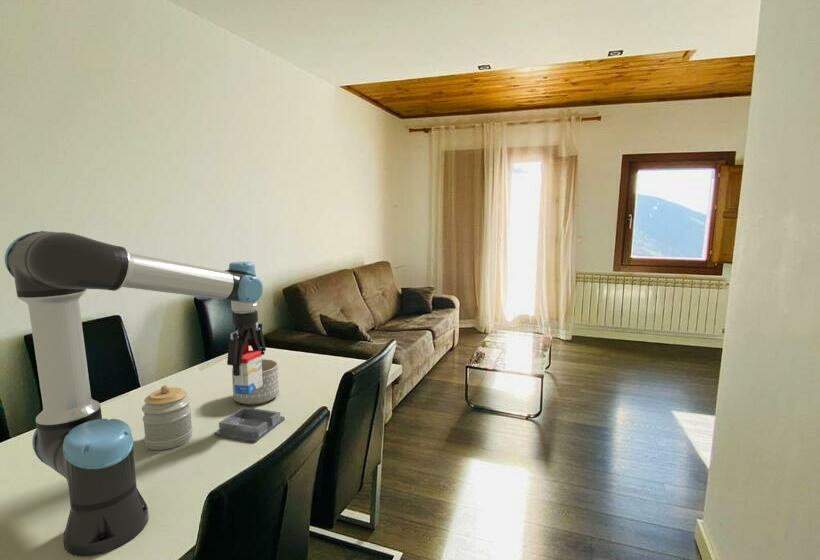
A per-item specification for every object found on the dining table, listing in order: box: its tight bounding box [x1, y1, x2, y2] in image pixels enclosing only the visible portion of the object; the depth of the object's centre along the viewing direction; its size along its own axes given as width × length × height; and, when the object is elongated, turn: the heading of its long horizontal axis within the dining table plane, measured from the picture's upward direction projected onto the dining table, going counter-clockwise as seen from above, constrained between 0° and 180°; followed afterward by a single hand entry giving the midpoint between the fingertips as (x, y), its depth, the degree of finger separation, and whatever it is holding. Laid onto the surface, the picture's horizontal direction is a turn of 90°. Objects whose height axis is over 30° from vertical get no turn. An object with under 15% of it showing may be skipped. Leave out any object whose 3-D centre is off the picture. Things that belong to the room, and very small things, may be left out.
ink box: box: [235, 341, 263, 394], centre depth 137 cm, size 8×5×15 cm, turn 168°
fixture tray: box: [213, 406, 286, 444], centre depth 140 cm, size 16×15×4 cm
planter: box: [231, 358, 280, 406], centre depth 163 cm, size 16×16×13 cm
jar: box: [141, 384, 194, 451], centre depth 131 cm, size 13×13×18 cm
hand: (248, 379), depth 138 cm, fingers closed on ink box, 9 cm apart
